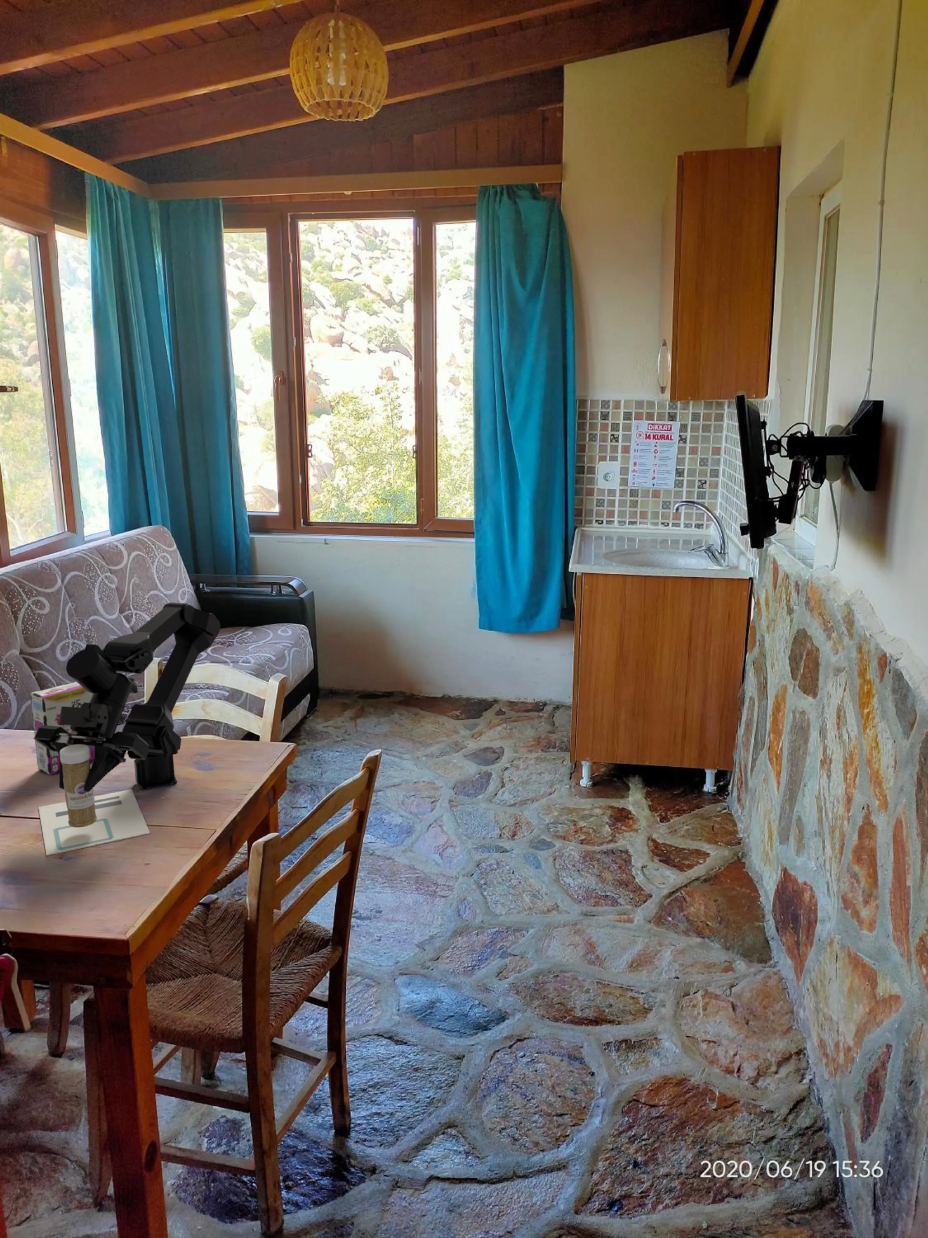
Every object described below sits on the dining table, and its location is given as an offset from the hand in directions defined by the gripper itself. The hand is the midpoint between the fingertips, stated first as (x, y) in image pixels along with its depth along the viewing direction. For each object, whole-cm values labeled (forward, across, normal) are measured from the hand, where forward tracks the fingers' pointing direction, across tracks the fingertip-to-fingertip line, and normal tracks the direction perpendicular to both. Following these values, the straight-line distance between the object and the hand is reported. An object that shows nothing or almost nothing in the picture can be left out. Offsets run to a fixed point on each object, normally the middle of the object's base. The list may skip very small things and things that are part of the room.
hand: (73, 790), depth 145 cm
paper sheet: (+2, -2, +11) cm, 11 cm away
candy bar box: (-13, -22, +26) cm, 36 cm away
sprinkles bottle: (+4, 0, +6) cm, 7 cm away
